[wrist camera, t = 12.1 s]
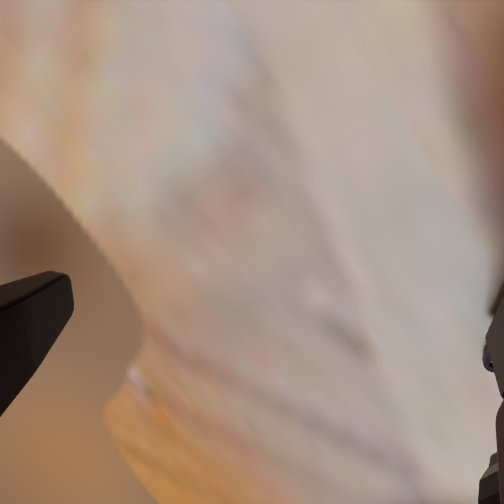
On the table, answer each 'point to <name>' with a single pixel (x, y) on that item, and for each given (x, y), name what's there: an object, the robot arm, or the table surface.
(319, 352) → the table surface
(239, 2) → the table surface
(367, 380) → the table surface
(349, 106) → the table surface
